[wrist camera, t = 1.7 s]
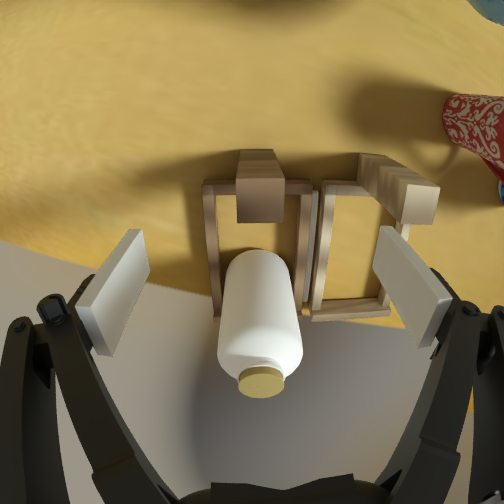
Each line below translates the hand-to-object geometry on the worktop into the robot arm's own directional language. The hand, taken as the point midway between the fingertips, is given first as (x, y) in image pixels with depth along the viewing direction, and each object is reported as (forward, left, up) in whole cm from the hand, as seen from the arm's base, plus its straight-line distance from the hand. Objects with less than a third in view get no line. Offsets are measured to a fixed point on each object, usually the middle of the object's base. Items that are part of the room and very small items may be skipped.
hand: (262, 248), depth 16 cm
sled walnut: (+9, 0, -19) cm, 21 cm away
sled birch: (+9, +14, -19) cm, 25 cm away
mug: (-7, +28, -19) cm, 35 cm away
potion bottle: (+15, 0, -19) cm, 24 cm away
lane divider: (+11, +7, -19) cm, 23 cm away
